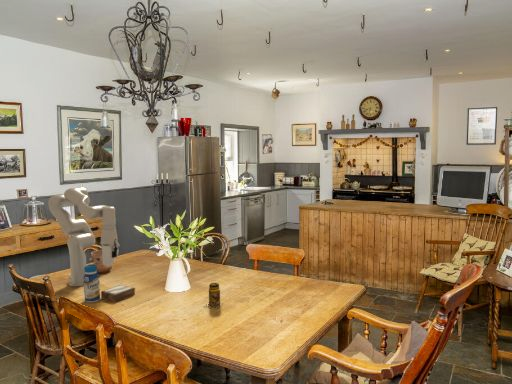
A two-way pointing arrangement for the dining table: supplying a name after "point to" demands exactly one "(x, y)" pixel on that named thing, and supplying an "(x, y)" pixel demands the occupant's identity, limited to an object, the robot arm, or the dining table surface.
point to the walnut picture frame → (117, 293)
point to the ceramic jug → (99, 262)
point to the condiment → (214, 295)
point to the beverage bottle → (91, 283)
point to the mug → (108, 255)
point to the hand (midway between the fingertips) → (110, 256)
